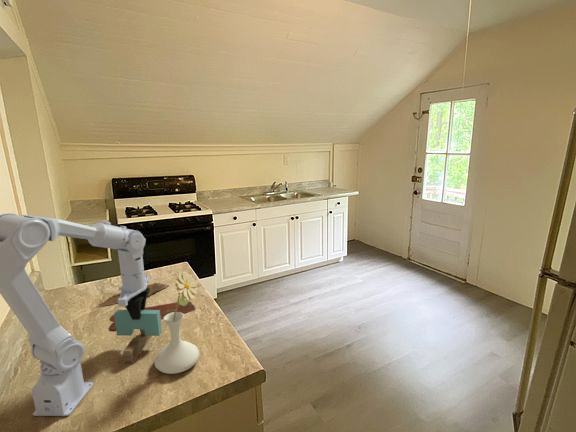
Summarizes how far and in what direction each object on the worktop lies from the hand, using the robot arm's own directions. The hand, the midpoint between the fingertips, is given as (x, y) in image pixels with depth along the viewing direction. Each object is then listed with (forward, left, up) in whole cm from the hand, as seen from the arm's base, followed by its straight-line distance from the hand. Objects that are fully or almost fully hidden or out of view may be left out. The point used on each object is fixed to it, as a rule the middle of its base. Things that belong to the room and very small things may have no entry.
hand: (138, 316), depth 92 cm
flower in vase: (-7, -13, -10) cm, 18 cm away
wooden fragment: (+30, +16, -10) cm, 35 cm away
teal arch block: (0, 0, -6) cm, 6 cm away
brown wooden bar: (0, 0, -9) cm, 9 cm away
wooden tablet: (+17, +3, -10) cm, 20 cm away
